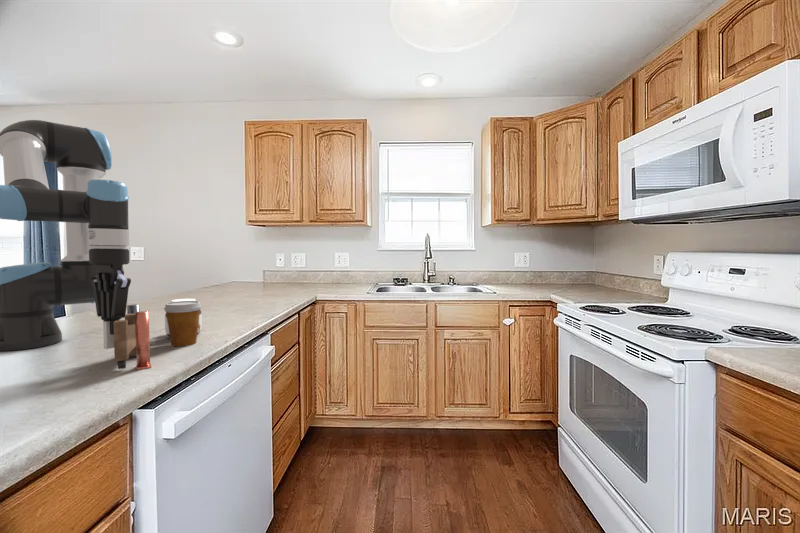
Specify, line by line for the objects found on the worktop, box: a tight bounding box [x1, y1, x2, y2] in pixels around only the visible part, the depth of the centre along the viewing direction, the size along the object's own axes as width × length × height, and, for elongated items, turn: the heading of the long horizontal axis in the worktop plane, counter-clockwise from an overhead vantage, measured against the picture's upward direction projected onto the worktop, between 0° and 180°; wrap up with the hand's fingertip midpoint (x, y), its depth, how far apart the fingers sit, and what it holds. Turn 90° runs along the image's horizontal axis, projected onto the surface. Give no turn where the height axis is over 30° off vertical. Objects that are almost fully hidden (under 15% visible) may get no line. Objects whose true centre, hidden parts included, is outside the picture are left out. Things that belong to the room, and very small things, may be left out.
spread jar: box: [164, 298, 203, 338], centre depth 120 cm, size 12×11×12 cm
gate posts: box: [126, 304, 152, 371], centre depth 93 cm, size 17×4×13 cm, turn 38°
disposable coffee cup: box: [163, 300, 202, 347], centre depth 110 cm, size 10×10×12 cm
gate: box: [113, 313, 136, 370], centre depth 91 cm, size 2×13×11 cm, turn 25°
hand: (111, 347), depth 90 cm, fingers closed
